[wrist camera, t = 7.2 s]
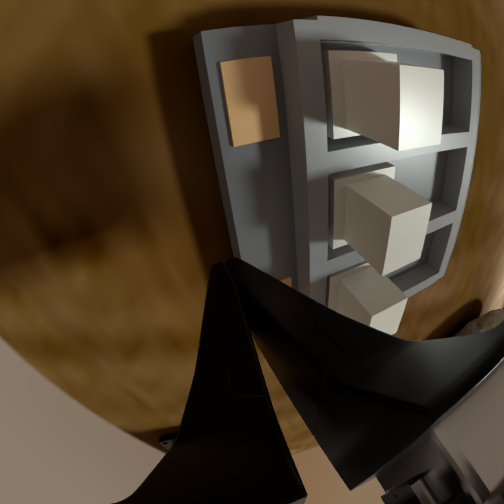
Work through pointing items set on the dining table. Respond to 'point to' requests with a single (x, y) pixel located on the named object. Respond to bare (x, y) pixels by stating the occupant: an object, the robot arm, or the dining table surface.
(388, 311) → the tab
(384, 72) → the tab
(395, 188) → the tab
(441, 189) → the switch bank
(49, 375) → the dining table surface
